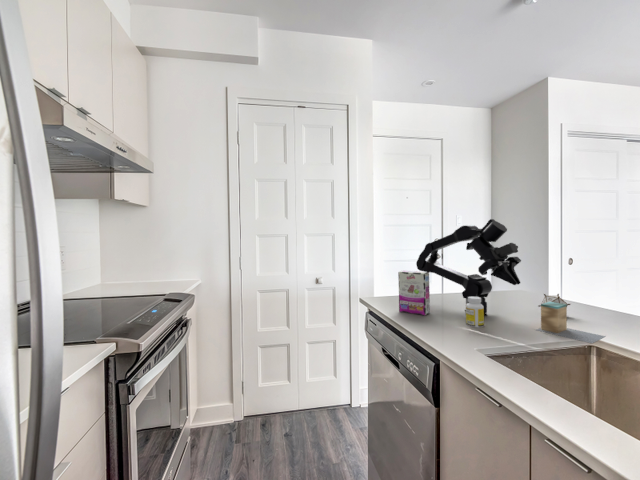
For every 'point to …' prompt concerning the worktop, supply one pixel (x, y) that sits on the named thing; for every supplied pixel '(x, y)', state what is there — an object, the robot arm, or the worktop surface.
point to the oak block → (554, 317)
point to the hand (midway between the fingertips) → (517, 284)
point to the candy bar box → (414, 292)
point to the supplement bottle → (474, 312)
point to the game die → (553, 299)
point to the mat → (577, 335)
